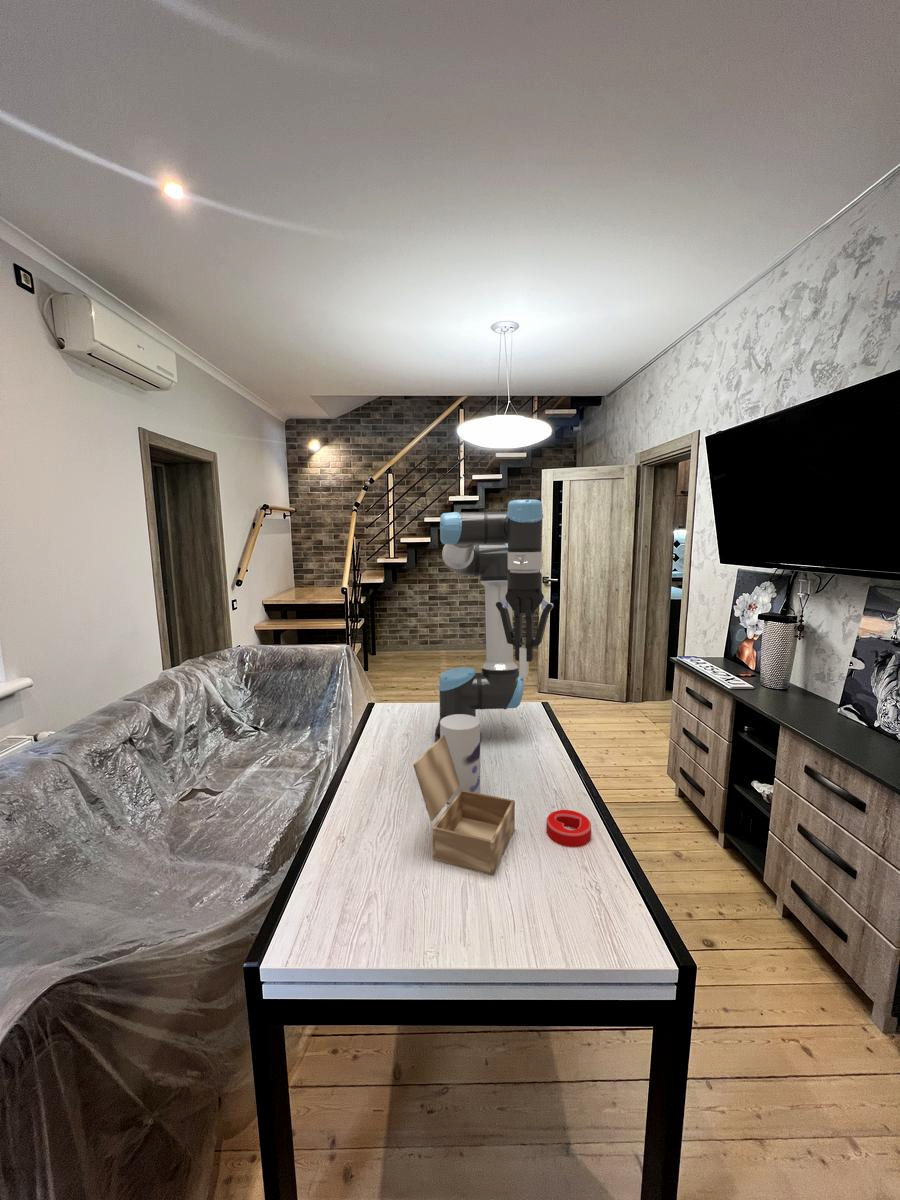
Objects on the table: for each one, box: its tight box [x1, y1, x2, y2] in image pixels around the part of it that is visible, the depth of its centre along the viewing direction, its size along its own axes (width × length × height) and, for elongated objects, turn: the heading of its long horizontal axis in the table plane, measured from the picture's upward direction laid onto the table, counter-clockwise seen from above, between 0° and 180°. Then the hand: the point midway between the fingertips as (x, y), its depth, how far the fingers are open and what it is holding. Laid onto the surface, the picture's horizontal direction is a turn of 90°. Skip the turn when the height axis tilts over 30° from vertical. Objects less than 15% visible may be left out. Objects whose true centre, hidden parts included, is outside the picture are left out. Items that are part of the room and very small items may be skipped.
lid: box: [412, 735, 460, 822], centre depth 106 cm, size 15×12×1 cm
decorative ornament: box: [545, 809, 592, 848], centre depth 107 cm, size 10×10×3 cm
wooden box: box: [431, 790, 516, 877], centre depth 104 cm, size 16×13×7 cm
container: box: [440, 714, 481, 805], centre depth 122 cm, size 10×10×20 cm
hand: (524, 674), depth 110 cm, fingers closed
